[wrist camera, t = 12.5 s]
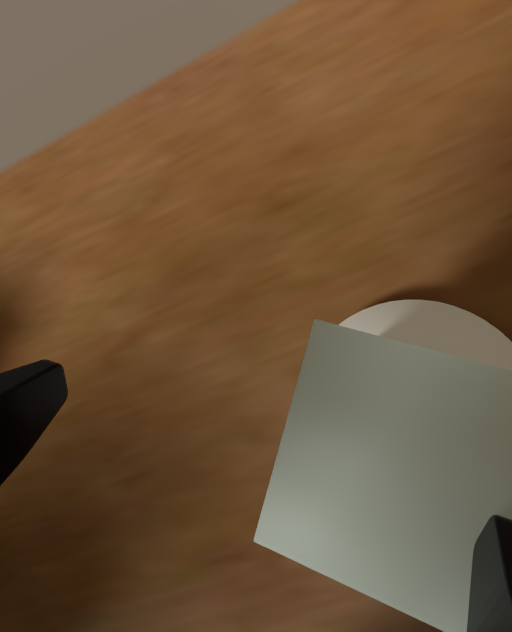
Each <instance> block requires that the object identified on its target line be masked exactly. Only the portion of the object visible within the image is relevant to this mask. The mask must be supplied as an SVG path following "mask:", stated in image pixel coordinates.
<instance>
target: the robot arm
mask: <svg viewBox="0 0 512 632" xmlns="http://www.w3.org/2000/svg"><path fill="white" fill-rule="evenodd" d="M67 395H68V389H67V384H66V379H65V374H64V369H63V367H62V365H60V364H59V363H56V362H53V361H50V360H40V361H37V362H34V363H31V364H27V365H24V366H21V367H18V368H15V369H12V370H9V371H6V372H3V373H0V486H1V484H2V483H3V482H4V481H5V480H6V479H7V478H8V476H9V475H10V474H11V473H12V472H13V471H14V470H15V468H16V467H17V466H18V465H19V464H20V462H21V461H22V460H23V459H24V458H25V456H26V455H27V454H28V452H29V451H30V450H31V448H32V447H33V446H34V444H35V443H36V441H37V440H38V439H39V437H40V436H41V435H42V433H43V432H44V430H45V429H46V428H47V426H48V425H49V423H50V422H51V421H52V419H53V418H54V416H55V415H56V414H57V412H58V411H59V409H60V408H61V407H62V405H63V404H64V402H65V401H66V398H67ZM467 632H512V520H511V519H508V518H505V517H502V516H500V515H492V516H491V517H490V518H489V520H488V521H487V523H486V525H485V526H484V528H483V530H482V532H481V533H480V535H479V537H478V538H477V540H476V543H475V546H474V550H473V559H472V571H471V584H470V596H469V609H468V621H467Z"/></svg>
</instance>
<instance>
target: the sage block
mask: <svg viewBox="0 0 512 632" xmlns="http://www.w3.org/2000/svg"><path fill="white" fill-rule="evenodd" d="M492 515H500V516H502V517H505V518H508V519H511V520H512V371H511V370H507V369H503V368H500V367H496V366H492V365H488V364H484V363H480V362H477V361H473V360H469V359H465V358H461V357H458V356H454V355H450V354H446V353H442V352H438V351H435V350H431V349H427V348H423V347H419V346H416V345H412V344H408V343H404V342H400V341H396V340H393V339H389V338H385V337H381V336H377V335H374V334H370V333H366V332H362V331H358V330H355V329H351V328H347V327H343V326H339V325H335V324H332V323H328V322H324V321H320V320H316V319H314V323H313V327H312V330H311V334H310V338H309V341H308V345H307V348H306V352H305V356H304V359H303V363H302V367H301V370H300V374H299V377H298V381H297V385H296V388H295V392H294V396H293V399H292V403H291V406H290V410H289V414H288V417H287V421H286V425H285V428H284V432H283V435H282V439H281V443H280V446H279V450H278V454H277V457H276V461H275V464H274V468H273V472H272V475H271V479H270V483H269V486H268V490H267V493H266V497H265V501H264V504H263V508H262V512H261V515H260V519H259V522H258V526H257V530H256V533H255V537H254V542H256V543H258V544H260V545H262V546H264V547H266V548H268V549H271V550H273V551H275V552H277V553H279V554H281V555H283V556H285V557H287V558H290V559H292V560H294V561H296V562H298V563H300V564H302V565H304V566H306V567H309V568H311V569H313V570H315V571H317V572H319V573H321V574H323V575H325V576H328V577H330V578H332V579H334V580H336V581H338V582H340V583H342V584H344V585H347V586H349V587H351V588H353V589H355V590H357V591H359V592H361V593H363V594H366V595H368V596H370V597H372V598H374V599H376V600H378V601H380V602H382V603H385V604H387V605H389V606H391V607H393V608H395V609H397V610H399V611H401V612H404V613H406V614H408V615H410V616H412V617H414V618H416V619H418V620H420V621H423V622H425V623H427V624H429V625H431V626H433V627H435V628H437V629H439V630H442V631H444V632H467V621H468V609H469V596H470V584H471V571H472V559H473V550H474V546H475V543H476V540H477V538H478V537H479V535H480V533H481V532H482V530H483V528H484V526H485V525H486V523H487V521H488V520H489V518H490V517H491V516H492Z"/></svg>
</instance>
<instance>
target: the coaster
mask: <svg viewBox="0 0 512 632" xmlns="http://www.w3.org/2000/svg"><path fill="white" fill-rule="evenodd" d="M339 326H343V327H347V328H351V329H355V330H358V331H362V332H366V333H370V334H374V335H377V336H381V337H385V338H389V339H393V340H396V341H400V342H404V343H408V344H412V345H416V346H419V347H423V348H427V349H431V350H435V351H438V352H442V353H446V354H450V355H454V356H458V357H461V358H465V359H469V360H473V361H477V362H480V363H484V364H488V365H492V366H496V367H500V368H503V369H507V370H511V371H512V342H511V341H510V340H509V339H508V338H507V337H506V336H505V335H504V334H503V333H502V332H500V331H499V330H498V329H497V328H495V327H494V326H492V325H491V324H490V323H488V322H487V321H485V320H484V319H482V318H480V317H478V316H476V315H474V314H473V313H471V312H469V311H466V310H463V309H461V308H458V307H456V306H453V305H449V304H445V303H441V302H436V301H428V300H398V301H390V302H386V303H382V304H378V305H375V306H372V307H369V308H367V309H364V310H362V311H360V312H358V313H356V314H354V315H352V316H350V317H349V318H347V319H346V320H345V321H343V322H342V323H340V324H339Z"/></svg>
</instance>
